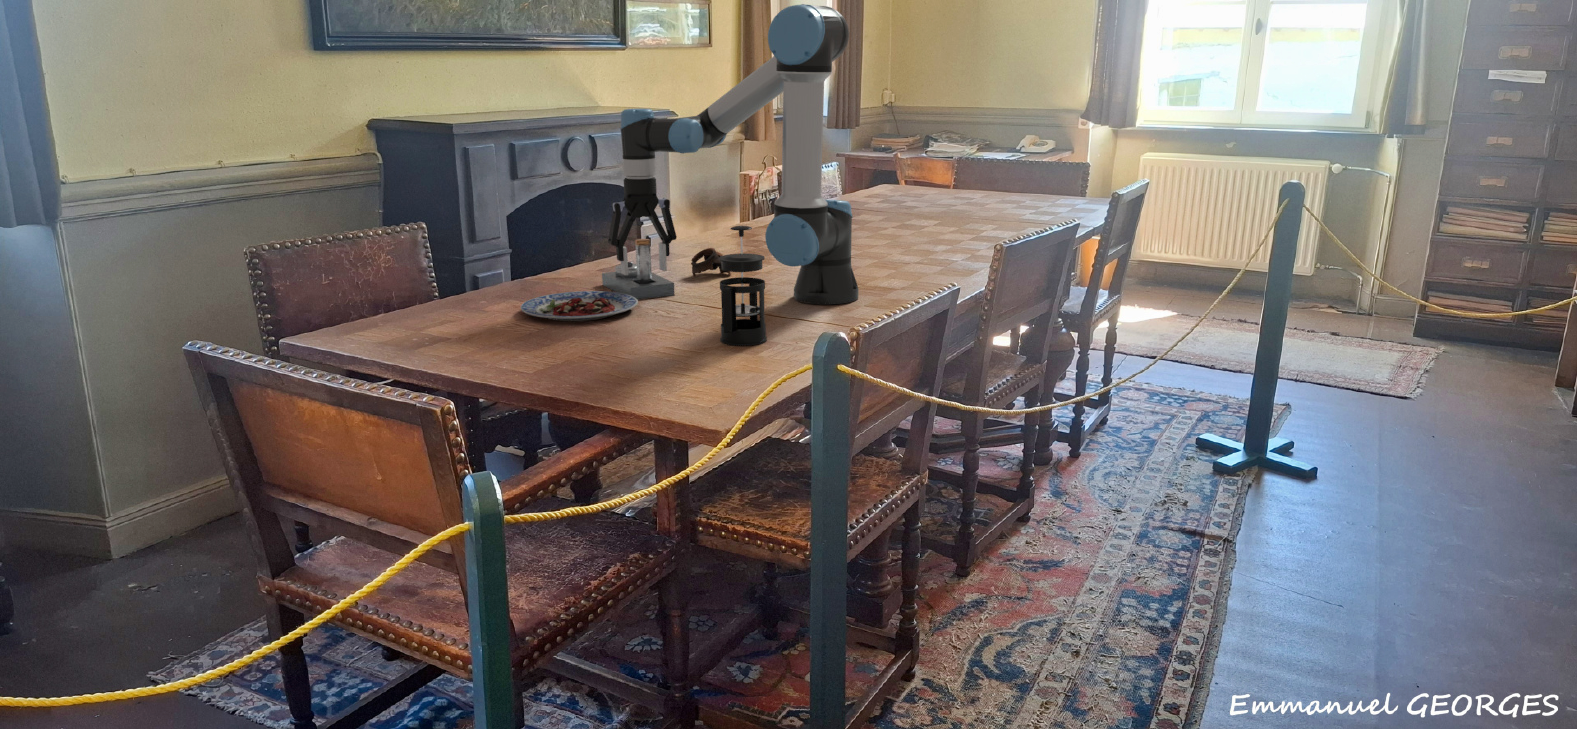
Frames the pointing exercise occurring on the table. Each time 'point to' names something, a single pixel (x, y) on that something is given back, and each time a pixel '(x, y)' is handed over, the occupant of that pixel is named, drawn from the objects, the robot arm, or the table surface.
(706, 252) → the broken brown mug
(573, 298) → the ceramic plate
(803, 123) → the robot arm
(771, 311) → the table surface
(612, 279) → the block
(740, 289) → the french press
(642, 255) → the pin
